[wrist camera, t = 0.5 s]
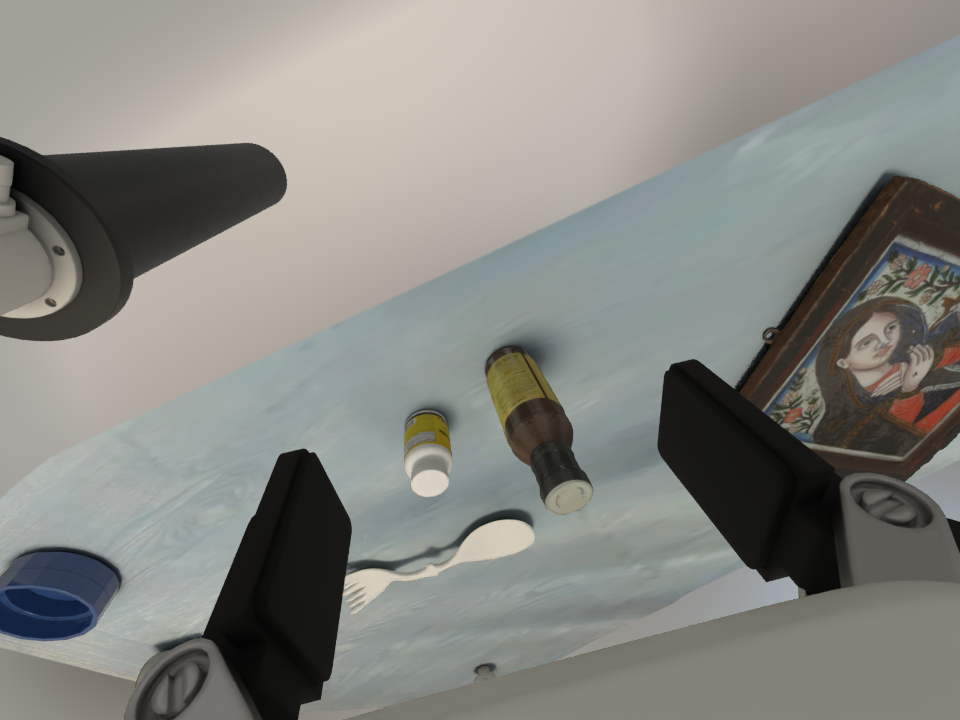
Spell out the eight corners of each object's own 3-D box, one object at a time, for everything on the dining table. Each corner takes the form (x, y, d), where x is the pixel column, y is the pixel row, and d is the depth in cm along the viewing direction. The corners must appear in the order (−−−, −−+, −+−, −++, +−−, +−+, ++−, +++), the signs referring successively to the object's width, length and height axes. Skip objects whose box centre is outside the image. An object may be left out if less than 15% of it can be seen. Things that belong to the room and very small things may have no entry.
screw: (475, 663, 83) (497, 662, 84) (470, 674, 85) (491, 673, 87) (486, 745, 72) (510, 742, 73) (479, 755, 74) (503, 753, 76)
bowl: (14, 538, 49) (-24, 577, 45) (129, 558, 54) (105, 595, 49) (6, 594, 53) (-30, 634, 49) (113, 607, 58) (89, 645, 54)
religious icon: (874, 167, 42) (905, 169, 39) (1099, 265, 54) (1135, 272, 51) (683, 450, 60) (696, 465, 57) (884, 477, 72) (902, 490, 69)
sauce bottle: (476, 382, 48) (512, 520, 31) (495, 338, 45) (546, 462, 28) (523, 393, 50) (582, 529, 33) (544, 351, 47) (619, 476, 30)
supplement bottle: (450, 437, 52) (458, 496, 43) (409, 445, 51) (408, 506, 43) (444, 404, 49) (451, 461, 40) (400, 412, 48) (398, 470, 40)
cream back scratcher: (326, 567, 61) (322, 589, 58) (523, 502, 60) (529, 521, 57) (353, 596, 65) (350, 618, 62) (536, 536, 65) (542, 555, 62)
